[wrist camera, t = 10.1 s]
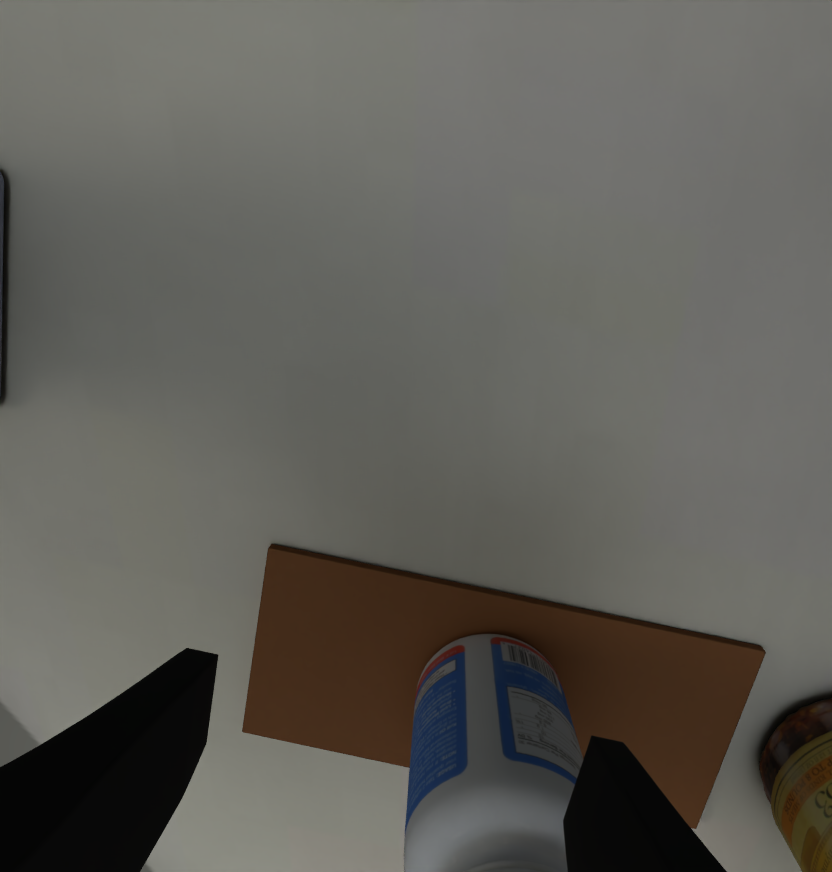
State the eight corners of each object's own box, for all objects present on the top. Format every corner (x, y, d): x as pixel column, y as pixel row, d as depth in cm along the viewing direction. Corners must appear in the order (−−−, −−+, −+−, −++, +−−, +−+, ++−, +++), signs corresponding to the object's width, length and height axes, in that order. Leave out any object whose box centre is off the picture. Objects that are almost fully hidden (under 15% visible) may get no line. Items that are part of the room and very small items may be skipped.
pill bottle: (434, 763, 23) (419, 1092, 14) (401, 642, 22) (359, 911, 13) (576, 742, 23) (662, 1072, 13) (550, 616, 21) (624, 880, 12)
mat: (245, 725, 24) (241, 732, 23) (271, 543, 22) (267, 547, 21) (692, 820, 24) (696, 829, 23) (761, 645, 22) (766, 651, 21)
